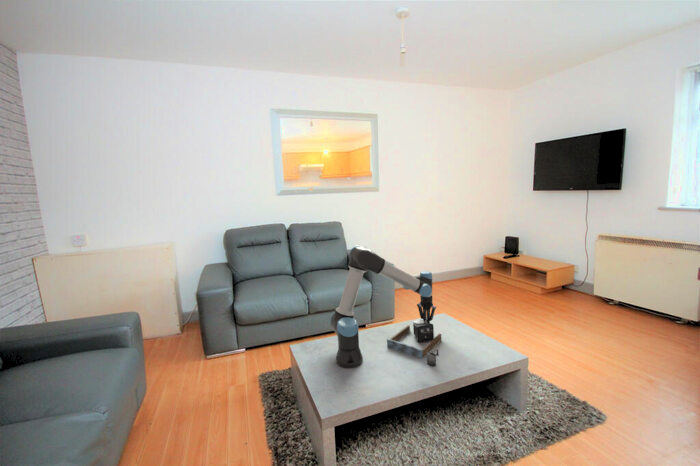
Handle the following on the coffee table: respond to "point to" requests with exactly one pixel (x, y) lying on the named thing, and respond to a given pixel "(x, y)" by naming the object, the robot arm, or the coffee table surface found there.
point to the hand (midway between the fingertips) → (426, 329)
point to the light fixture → (423, 331)
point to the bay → (410, 349)
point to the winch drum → (431, 358)
